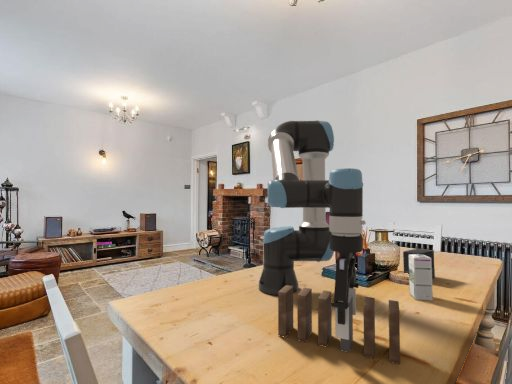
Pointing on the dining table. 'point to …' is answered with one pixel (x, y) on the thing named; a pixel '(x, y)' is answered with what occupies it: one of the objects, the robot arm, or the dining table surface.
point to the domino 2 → (304, 313)
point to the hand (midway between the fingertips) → (346, 324)
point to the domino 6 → (394, 332)
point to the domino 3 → (324, 318)
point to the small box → (418, 251)
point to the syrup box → (420, 277)
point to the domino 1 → (285, 310)
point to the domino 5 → (369, 326)
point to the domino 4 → (345, 343)
